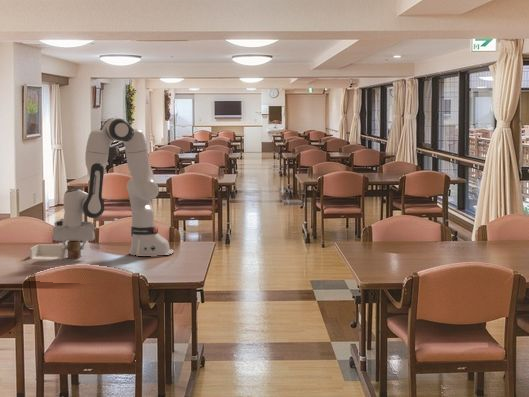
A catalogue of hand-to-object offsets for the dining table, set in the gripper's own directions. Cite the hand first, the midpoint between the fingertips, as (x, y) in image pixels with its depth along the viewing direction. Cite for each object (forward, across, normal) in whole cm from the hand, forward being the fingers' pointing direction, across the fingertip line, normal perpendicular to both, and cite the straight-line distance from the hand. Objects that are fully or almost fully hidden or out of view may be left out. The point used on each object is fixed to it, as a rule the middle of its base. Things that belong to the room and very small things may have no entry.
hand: (74, 249), depth 363 cm
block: (+4, 0, 0) cm, 4 cm away
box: (+4, +13, -1) cm, 13 cm away
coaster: (+4, 0, 0) cm, 5 cm away
